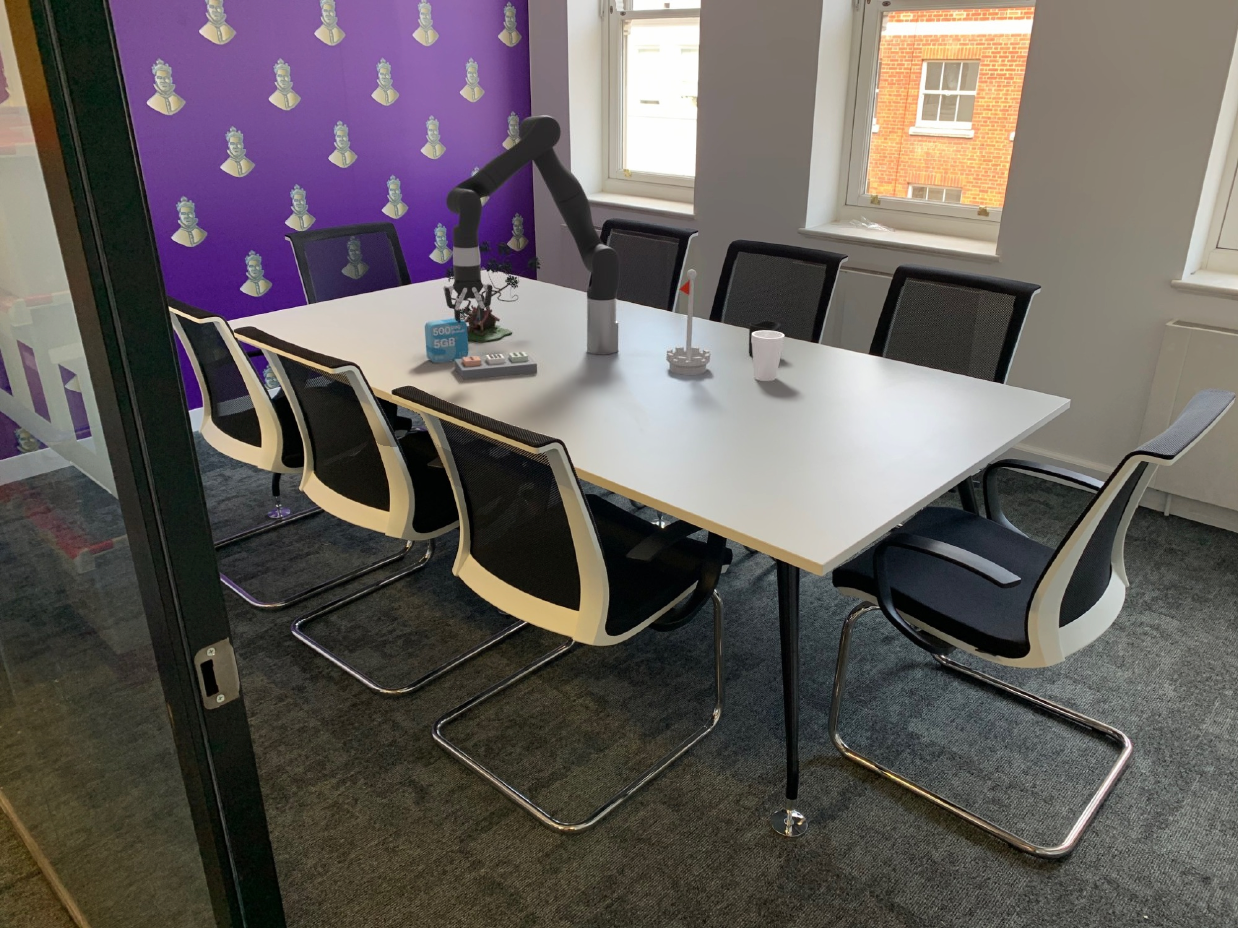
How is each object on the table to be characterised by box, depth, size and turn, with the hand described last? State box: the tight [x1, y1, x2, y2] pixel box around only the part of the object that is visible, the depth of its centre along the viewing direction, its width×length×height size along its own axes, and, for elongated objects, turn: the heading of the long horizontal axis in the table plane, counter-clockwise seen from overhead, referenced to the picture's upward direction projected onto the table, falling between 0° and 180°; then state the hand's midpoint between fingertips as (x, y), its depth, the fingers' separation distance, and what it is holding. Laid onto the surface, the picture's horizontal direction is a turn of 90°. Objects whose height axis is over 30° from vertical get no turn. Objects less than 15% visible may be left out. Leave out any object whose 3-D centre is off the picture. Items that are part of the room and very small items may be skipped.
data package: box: [424, 317, 469, 364], centre depth 289 cm, size 12×4×12 cm, turn 123°
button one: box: [462, 355, 481, 367], centre depth 276 cm, size 5×5×3 cm
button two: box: [508, 351, 529, 362], centre depth 281 cm, size 5×5×3 cm
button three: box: [485, 353, 505, 365], centre depth 279 cm, size 5×5×3 cm
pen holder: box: [748, 320, 781, 357], centre depth 297 cm, size 9×9×10 cm
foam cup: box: [751, 330, 785, 382], centre depth 274 cm, size 10×9×13 cm
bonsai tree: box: [445, 240, 541, 343], centre depth 312 cm, size 35×24×32 cm
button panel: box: [454, 352, 538, 381], centre depth 279 cm, size 22×12×3 cm, turn 110°
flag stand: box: [666, 268, 711, 376], centre depth 278 cm, size 13×13×30 cm
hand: (469, 321), depth 272 cm, fingers open, 5 cm apart
